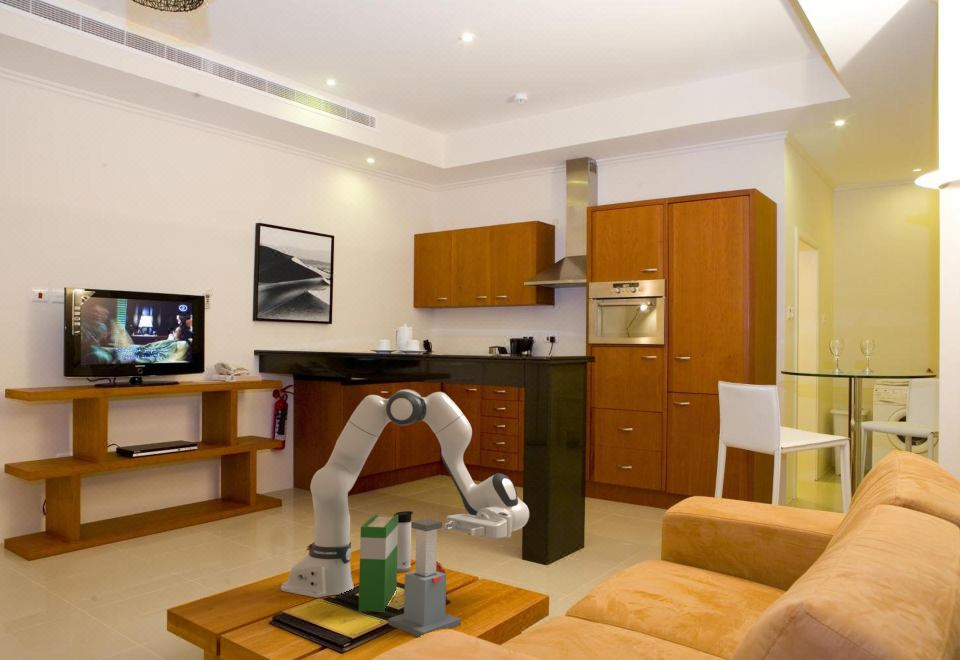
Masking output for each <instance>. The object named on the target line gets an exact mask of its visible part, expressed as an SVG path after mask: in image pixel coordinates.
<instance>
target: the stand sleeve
mask: <svg viewBox="0 0 960 660" xmlns="http://www.w3.org/2000/svg"><path fill="white" fill-rule="evenodd" d="M403 593H404V594H403V595H404V601H403V613H402V614H398V615H396V616H395V615H394V616H393V617H390V618H388V619H387V621H388V622H387V625H389V626H391V627H393V628H396V629H399V630H401V631H404V632H407V634H408V633H409V634H411V635H414V636H416V637H418V638H420V637H419V636H421V635H424V634H426V633H429V632H432V631H435V630H439V629H446V628H450V629H452V628H454V627H457V626H461V624H462V623H461V622H462V619H461V618H460V617H457V616H454V615H452V614H449V613H446V611H447V610H446V608H447V607H446V606H447V605H446V604H447V601H446V600H447V573H445V574H444V573H441V572H438V571H436V575H433V576H430V577H426V578H424V577H421V576H418V575H415V571H412V572H411V571H409V572H406V573H405V574H404V592H403Z"/></svg>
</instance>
